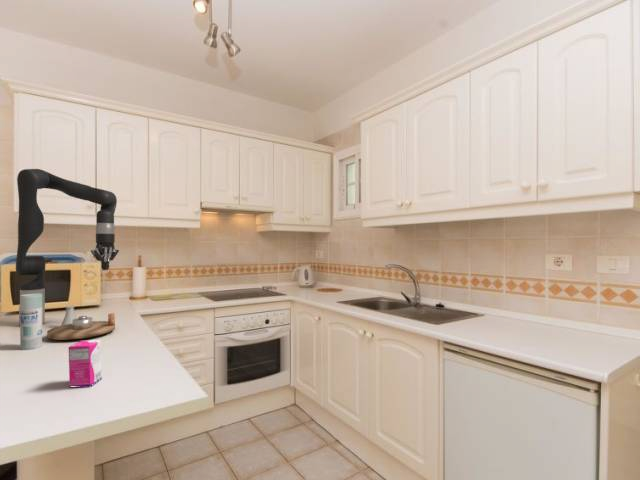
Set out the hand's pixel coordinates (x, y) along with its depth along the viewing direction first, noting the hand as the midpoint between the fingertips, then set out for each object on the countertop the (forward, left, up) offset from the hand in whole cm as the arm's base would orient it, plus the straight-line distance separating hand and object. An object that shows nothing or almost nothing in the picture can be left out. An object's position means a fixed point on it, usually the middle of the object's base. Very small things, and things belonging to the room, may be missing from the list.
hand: (105, 269), depth 161 cm
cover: (+3, -13, -24) cm, 27 cm away
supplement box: (+54, -49, -27) cm, 78 cm away
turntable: (+3, -13, -26) cm, 29 cm away
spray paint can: (+2, -32, -27) cm, 42 cm away
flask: (-15, -6, -27) cm, 32 cm away
